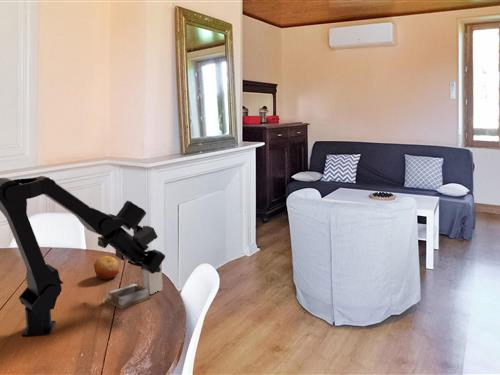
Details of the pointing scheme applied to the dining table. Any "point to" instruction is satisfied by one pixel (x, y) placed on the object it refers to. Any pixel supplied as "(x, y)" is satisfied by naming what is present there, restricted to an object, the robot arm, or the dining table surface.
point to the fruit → (106, 267)
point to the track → (128, 296)
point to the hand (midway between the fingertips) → (156, 269)
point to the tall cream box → (153, 281)
